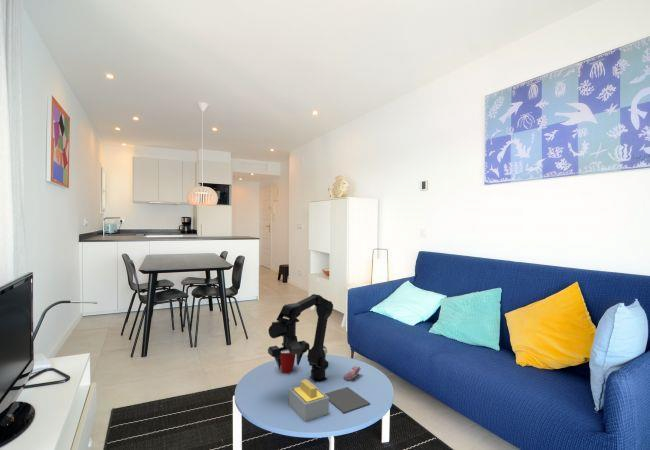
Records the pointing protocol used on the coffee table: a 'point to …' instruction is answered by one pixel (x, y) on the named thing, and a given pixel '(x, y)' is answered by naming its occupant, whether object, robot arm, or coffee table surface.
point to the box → (309, 406)
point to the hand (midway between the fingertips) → (288, 366)
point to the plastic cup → (287, 362)
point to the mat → (346, 400)
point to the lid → (308, 392)
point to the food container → (325, 350)
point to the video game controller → (352, 373)
